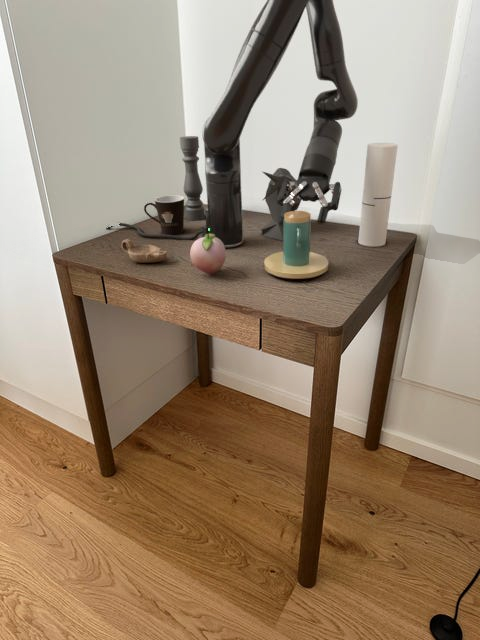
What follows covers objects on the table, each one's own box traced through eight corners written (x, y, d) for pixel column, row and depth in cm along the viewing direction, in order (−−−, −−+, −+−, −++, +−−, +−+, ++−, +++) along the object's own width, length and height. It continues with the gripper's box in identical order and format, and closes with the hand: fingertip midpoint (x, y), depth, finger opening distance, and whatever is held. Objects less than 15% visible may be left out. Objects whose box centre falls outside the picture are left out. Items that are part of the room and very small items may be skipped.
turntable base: (260, 272, 108) (260, 268, 108) (289, 258, 116) (290, 254, 116) (302, 284, 101) (302, 280, 101) (331, 268, 109) (331, 264, 108)
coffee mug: (192, 229, 140) (190, 196, 135) (174, 237, 133) (171, 203, 129) (163, 225, 145) (160, 193, 141) (145, 232, 139) (140, 199, 134)
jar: (263, 255, 115) (262, 206, 109) (323, 254, 114) (326, 204, 108) (265, 279, 102) (264, 224, 96) (332, 278, 101) (336, 223, 95)
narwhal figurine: (316, 228, 137) (319, 165, 129) (283, 240, 128) (284, 174, 119) (279, 219, 146) (280, 161, 138) (246, 231, 137) (245, 168, 128)
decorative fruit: (192, 267, 112) (188, 228, 107) (225, 265, 113) (223, 226, 108) (191, 283, 104) (187, 240, 99) (227, 280, 104) (225, 238, 100)
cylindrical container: (386, 247, 121) (399, 146, 109) (358, 246, 122) (368, 146, 110) (384, 238, 127) (396, 142, 115) (358, 237, 128) (367, 142, 117)
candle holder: (186, 215, 154) (179, 136, 142) (204, 214, 155) (199, 135, 143) (185, 221, 149) (178, 139, 137) (204, 219, 149) (199, 138, 137)
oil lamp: (173, 259, 118) (171, 240, 115) (155, 269, 112) (153, 250, 110) (134, 252, 123) (131, 234, 121) (115, 261, 118) (112, 242, 115)
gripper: (287, 151, 109) (268, 211, 105) (346, 153, 103) (329, 216, 99) (294, 170, 115) (277, 227, 112) (350, 173, 110) (334, 233, 106)
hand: (301, 222), depth 106 cm, fingers open, 8 cm apart
